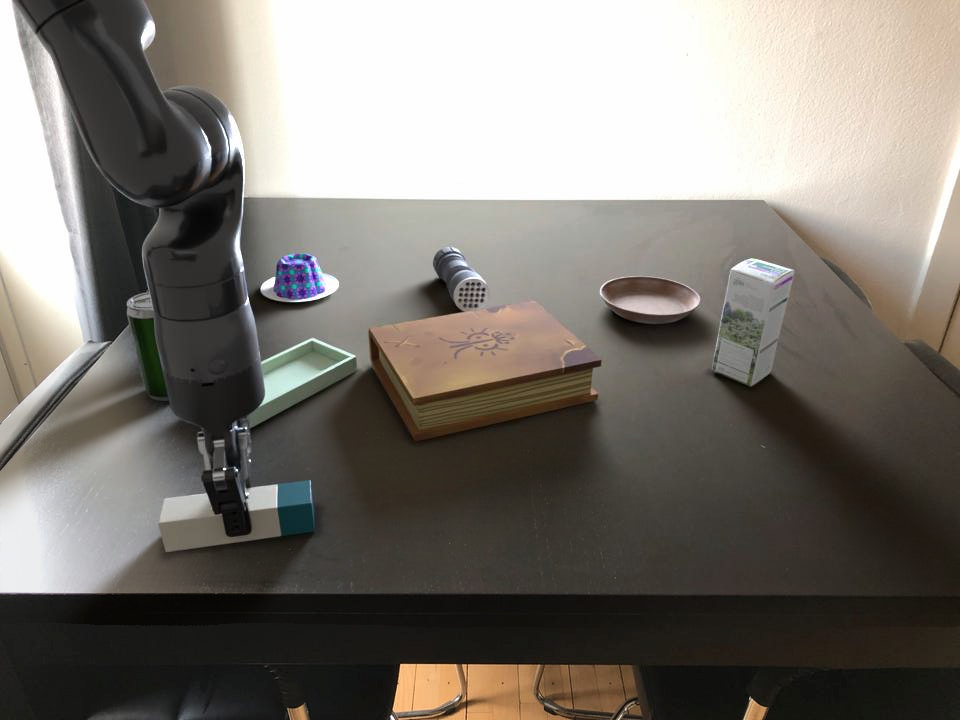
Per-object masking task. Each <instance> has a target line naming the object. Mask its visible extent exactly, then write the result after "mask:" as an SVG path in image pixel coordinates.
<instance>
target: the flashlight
mask: <svg viewBox="0 0 960 720" xmlns="http://www.w3.org/2000/svg"><path fill="white" fill-rule="evenodd" d="M432 267H433V269H434V272H435V273H436V274H437V275H436V276H438V278H440V279H441V280H443V281H444V282H445V285H446V288H447V290H448V292H449V295H450V298H451V300H452V301H453V302H454V304H455V305H456V307H457V308H458V309H459V310H460V311H461V312H468V311H473V310H479V309H484V307H485V306H486V305H487V303H488V302H489V299H490V295H491V293H490V287H489V285H488V283H486V281H485V280H484V279H483V277H482V276H481V275H480V274H479V273H477V272H476V271H475V269H473V268H472V267H470V266H469V265H468V263H467V259H466V257H465V256H464V254H463V253H462V252H461V251H460V250H459V249H458V248H455V247H450V246H448V247H447V246H446V247H443V248H440V249H439V250H438V251H436V253H435V255H434V257H433V260H432Z"/></svg>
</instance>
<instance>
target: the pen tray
mask: <svg viewBox="0 0 960 720" xmlns="http://www.w3.org/2000/svg"><path fill="white" fill-rule="evenodd" d="M357 359H358V358H357V355H354V354H352V353H349V352H348V351H345V350H343V349H340V348H338V347H335V346H333V345H330V344H328V343H326V342H323V341H321V340H319V339H316V338H314V337H310V338H309V339H307V340H305V341H303V342H300V343H298V344H296V345H294V346H292V347H290V348H288V349H285V350H284V351H283V350H282V351H281V352H279V353H277V354H275V355H273V356H271V357H269V358H266V359H264V360H261V365H262V372H263V379H264V386H265V397H264V400H263V402H262V404H261V405H260V406H259V407H258V408H257V409H256V410H255V411H254V412H252V413H251V414H249V417H250V429H252V428H254V427H256V426H258V425H259V424H261V423H263V422H265V421H267V420H268V419H270V418H272V417H274V416H276V415H277V414H280V413H281V412H283V411H285V410H287V409H289V408H291V407H292V406H295V405H296V404H299V403H300V402H301V401H303V400H305V399H308V398H309V397H311V396H313V395H315V394H317V393H318V392H320V391H322V390H324V389H326V388H328V387H330V386H332V385H334V384H335V383H337V382H339V381H341V380H343V379H345V378H346V377H348V376H350V375H352V374H354V373H356V372H357V371H358V360H357Z"/></svg>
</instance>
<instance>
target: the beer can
mask: <svg viewBox="0 0 960 720" xmlns="http://www.w3.org/2000/svg"><path fill="white" fill-rule="evenodd" d="M126 306H127V308H126V312H125V313H126V317H127V321H128V325H129V329H130V333H131V337H132V341H133V346H134V351H135V355H136V359H137V363H138V367H139V372H140V375H141V380H142V384H143V388H144V391H145V393H146V394H147V396H148V397H149V398H150V399H152V400H154V401H158V402H169V398H168V393H167V389H166V384H165V380H164V375H163V371H162V366H161V361H160V357H159V352H158V348H157V343H156V338H155V328H154V314H153V308H152V303H151V299H150V294H149V291H147V292H142V293H139V294H136V295H134V296H132V297H130V298H128V300H127V301H126Z"/></svg>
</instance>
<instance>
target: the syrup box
mask: <svg viewBox="0 0 960 720" xmlns="http://www.w3.org/2000/svg"><path fill="white" fill-rule="evenodd" d="M794 276H795V269H792V268H788V267H785V266H781V265H777V264H774V263H771V262H769V261H764V260H761V259H757V258H754V257H751V258H749V259H745V260H744V261H741V262H740V263H738V264H736V265H735V266H734V267H732V268H730V271H729V276H728V282H727V287H726V293H725V297H724V303H723V309H722V313H721V319H720V323H719V329H718V335H717V339H716V345H715V351H714V355H713V360H712V366H711V372H713V373H716V374H718V375H720V376H723V377H725V378H728V379H730V380H732V381H735V382H737V383H740V384H742V385H745V386H746V387H750V388H751V387H753V386H755V385H756V384H757V383H759V382H760V381H762V380H763V379H765V377H767V376H768V375H770V374H771V372H772V371H773V366H774V361H775V355H776V351H777V346H778V343H779V338H780V333H781V330H782V326H783V321H784V318H785V313H786V309H787V307H788V301H789V298H790V293H791V290H792V285H793V281H794Z"/></svg>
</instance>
